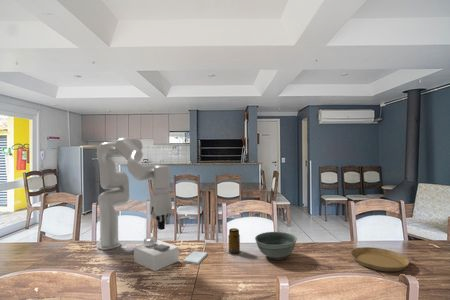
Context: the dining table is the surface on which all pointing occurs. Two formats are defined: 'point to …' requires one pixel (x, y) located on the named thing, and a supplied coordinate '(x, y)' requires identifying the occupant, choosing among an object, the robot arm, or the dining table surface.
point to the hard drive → (195, 257)
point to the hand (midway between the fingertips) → (161, 228)
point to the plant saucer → (379, 259)
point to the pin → (150, 242)
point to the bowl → (276, 244)
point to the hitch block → (155, 256)
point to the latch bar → (161, 247)
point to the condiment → (234, 242)
